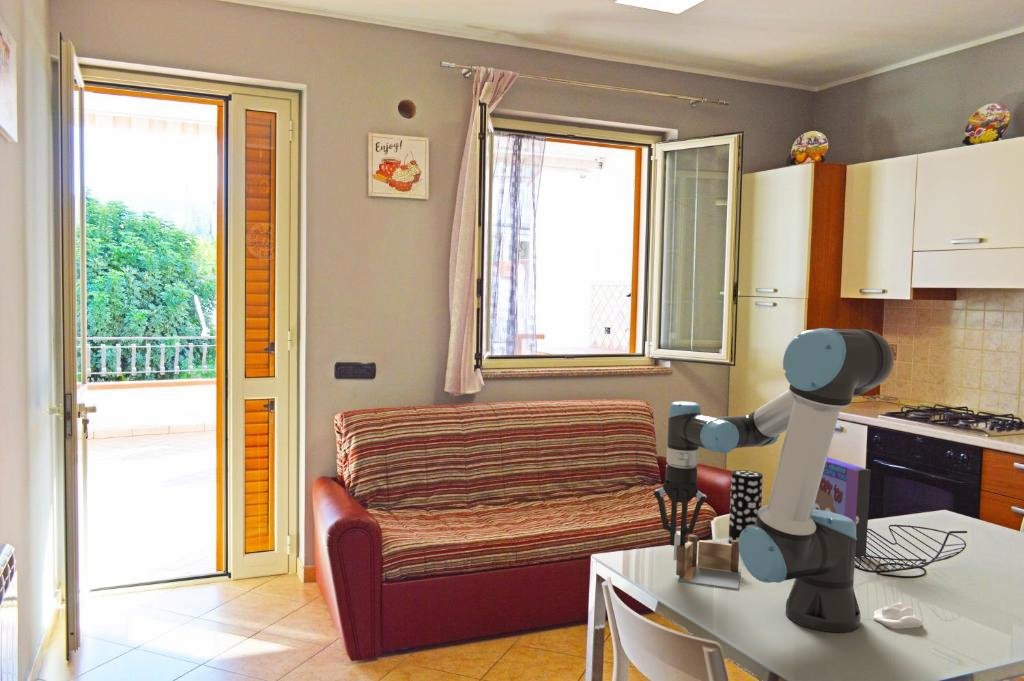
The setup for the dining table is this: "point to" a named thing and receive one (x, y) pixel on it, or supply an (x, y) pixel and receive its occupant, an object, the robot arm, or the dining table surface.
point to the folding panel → (684, 558)
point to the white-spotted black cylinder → (744, 501)
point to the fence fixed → (715, 554)
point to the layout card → (711, 577)
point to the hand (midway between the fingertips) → (676, 558)
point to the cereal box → (846, 496)
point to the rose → (897, 616)
